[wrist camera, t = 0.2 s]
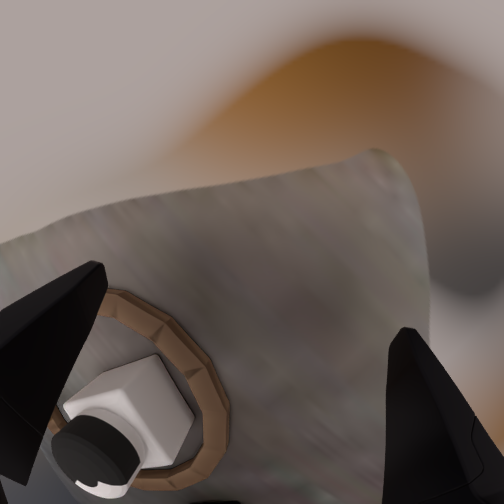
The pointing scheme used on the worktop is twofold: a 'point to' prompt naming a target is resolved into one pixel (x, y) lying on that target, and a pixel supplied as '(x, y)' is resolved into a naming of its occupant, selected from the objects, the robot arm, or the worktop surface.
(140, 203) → the worktop surface
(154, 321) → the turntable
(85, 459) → the medicine bottle
